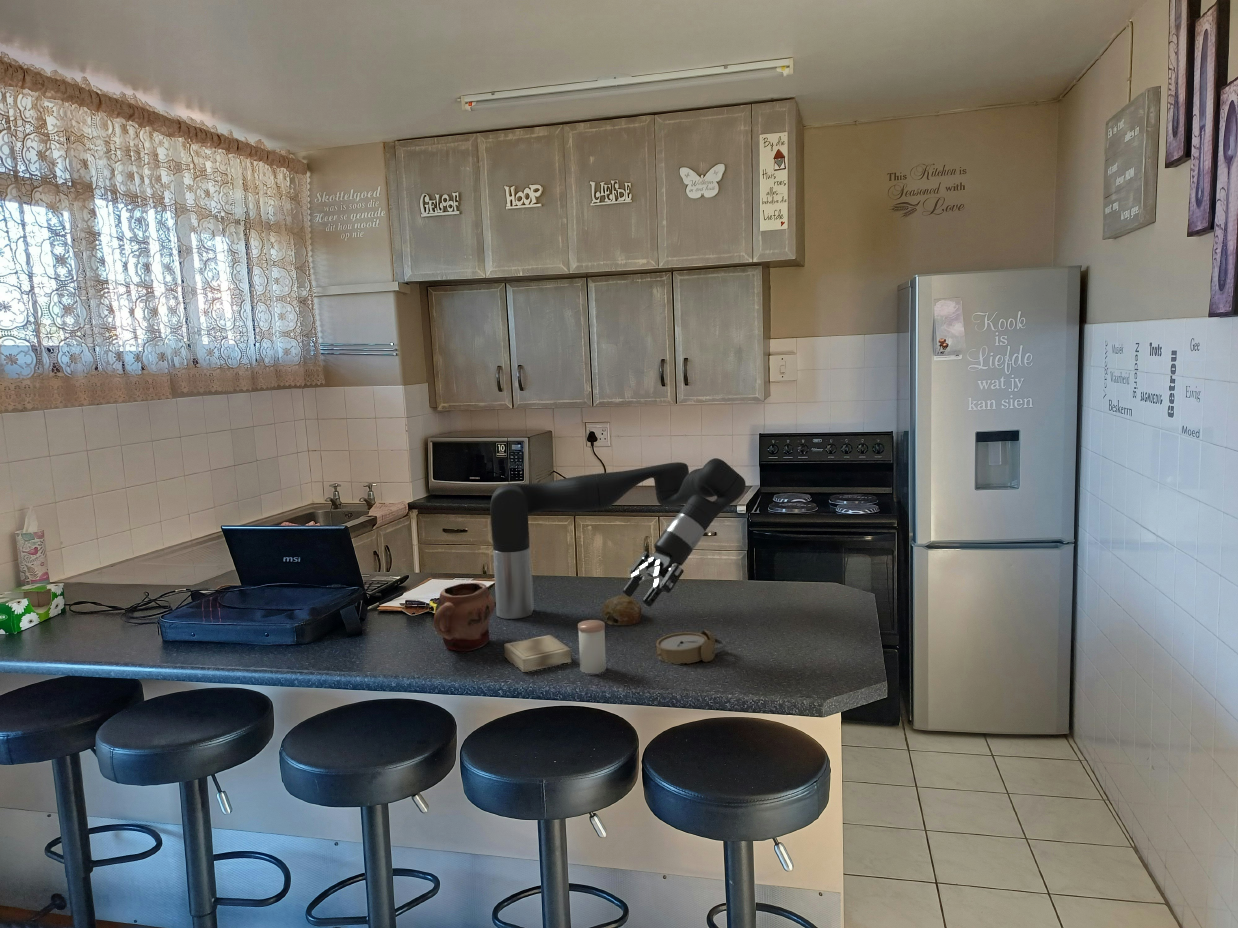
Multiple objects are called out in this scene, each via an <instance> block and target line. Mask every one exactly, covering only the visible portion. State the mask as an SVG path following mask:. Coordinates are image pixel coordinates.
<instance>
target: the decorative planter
mask: <svg viewBox="0 0 1238 928" xmlns="http://www.w3.org/2000/svg"><path fill="white" fill-rule="evenodd" d="M495 607H496V600H495V598H494V597H493V596H492V594H491V593H490V591H489V588H488V586H487V585H486V584H484V583H482V582H479V581H478V582H463V583H458V584H456V585H452V586H449V587H445V588H443V589H442V590H441V592H440V593H439V598H438V600H437V603H436V605H435V608H434V609H435V610H434V617H433V627H434V629H435V632H437V634H438V636H440V637H441V638H442V640H443V644H444V645H445V648H447V649H448V650H452V651H461V652H466V651H467V652H468V651H469V652H470V651H473V650H476V649H479V648H481V647H483V646H485V645H486V644H487V643H489V642H490V630H489V629H490V628H489V626H490V625H489V622H490V619H491V617H492V615H493V613H494V611H495Z"/></svg>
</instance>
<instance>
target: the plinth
mask: <svg viewBox="0 0 1238 928" xmlns="http://www.w3.org/2000/svg"><path fill="white" fill-rule="evenodd" d="M505 657H506V658H507V659H506V658H505ZM504 658H505V659H506V660H507V661H508V662H510V663H511V664H512V663H513V664H514V665H515V666H514V667H516V668H517V667H518V668H519V669H520V670H521V671H522V672H528V671H532V670H536V669H540V668H544V667H548V666H553V665H558V664H561V663H567V662H571V663H572V650H571V648H569V647H568V646H567V645H565V644H564V643H562V642H561V641H560V640H558V639H557V638H556V637H554V636H553V635H551V634H547V635H542V636H538V637H532V638H528V639H523V640H519V641H514V642H508V643H504ZM513 664H512V665H513ZM518 668H517V669H518ZM519 669H518V670H519ZM520 670H519V671H520ZM521 671H520V672H521ZM522 672H521V673H522ZM532 672H533V671H532ZM528 673H529V672H528Z"/></svg>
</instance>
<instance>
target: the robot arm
mask: <svg viewBox="0 0 1238 928" xmlns="http://www.w3.org/2000/svg"><path fill="white" fill-rule="evenodd" d="M649 479H653V481H654V488H655V489H654V491H655V496H656V501H657V503H658V504H659V505H660V506H662V507H677V506H682V505H684V506H683V507H682V508H681V509H680V511H679V512H678V514H677V515H676V516H675V517H674V518H672V520H670V522H669V524H668V525H667V526H666V528H665V529H664V530H663V532H662V533H661V535H660V536H659V538H658V539H657V540H656V541H655V543H654V544H653V547H654V549H655V551H654V553H652V554H650V553H648V552H647V551H643V553H641V555H640V556H639V557H638V559H637V560H636V562H635V563H634V564H633V565H632V567H631V568H630V569H629V571H628V573H629V574H630V575H631V576H630V577H631V579H629V581H628V582H627V584H626V585H625V586H624V588H623V589H622V593H624V594H623V595H626V596H628V597H632V596H633V594H635V592H636V591H637V589H638V588H639V586H640V584H641V583H642V582H644V581H645V580H651V579H653V580H654V581H653V585H652V587H650V589H649V590H648V592H647V593H646V594H645V596H644V597H643V599H642V602H643V604H644V605H646V607H649V608H651V607H652V605H653V604H655V602H656V601H657V599H658V598H659V596H660V595H661V594H664V593H667V594H669V593H671V591H672V590H673V589H674V587H675V586H676V584H677V583H678V581H679V580H680V579H681V576H682V575H683V574H684V573H685V572H684V569H683V568H682V567H681V566H683V565H684V563H686V561H687V560H688V557H689V556H690V555H691V554H692V553H693V551H694V549H695V548H696V547H697V545H698V544H699V542H700V541H701V540H702V538H703V536H704V534H705V533H706V531H707V530H708V529H709V527H710V525H711V524H712V523H713V521H714V520H715V519H716V518H717V517H718V516H719V515H720V514H721V513H722V512H723V511H724V510H725V509H727V508H728V507H729V506H730V505H732V504H733V503H734V502H736V501H737V500H738V499H739V498H741V496H742V495H743V494H744V492H745V490H746V480H745V479H744V477H743V476H742V475H741V474H740V473H738V472H737V471H736V470H735V469H734V468H733V467H731V466H730V465H729V464H728V463H727V462H726V461H724V460H723V459H720V458H717V457H715V458H711V459H710V460H708V461H707V462H706V463H705V464H704V465H703V467H700V468H696V469H692V470H691V471H690V470H689V465H688V464H687V463H685V462H679V461H678V462H677V461H675V462H668V463H662V464H657V465H650V466H645V467H639V468H634V469H629V470H622V471H621V470H620V471H611V472H610V471H609V472H601V473H600V472H599V473H592V474H591V473H590V474H583V475H577V476H573V477H565V478H562V479H561V478H560V479H556V480H553V481H547V482H538V483H537V482H536V483H535V482H533V483H506V484H502V485H501V486H499V487H497V488H496V489H495V490H494V492H493V493H492V495H491V500H490V503H489V506H490V507H489V512H490V526H491V527H490V529H491V530H490V531H491V541H492V551H493V553H492V554H493V569H494V588H495V590H494V591H495V607H496V610H495V611H496V616H497V617H499V618H502V619H505V620H506V619H507V620H509V619H511V620H513V619H522V618H525V617H529V616H530V615H532V614H533V610H534V609H535V606H534V602H535V601H534V583H533V581H534V580H533V573H532V572H531V571H532V569H531V552H530V551H531V550H530V530H529V515H530V514H533V513H538V512H544V511H557V512H574V513H575V512H576V513H577V512H578V513H581V512H589V511H590V512H592V511H598V510H605V509H608V508H610V507H611V506H612V505H614V504H615V503H616V502H618V501H619V500H621V498H623V497H624V496H625V495H626V494H627V493H628V492H630V491H631V490H632V489H634V488H635V487H636V486H638V485H639V484H641V483H643V482H645V481H647V480H649ZM713 497H716V499H715V500H710V499H708V498H713ZM669 582H670V583H669Z"/></svg>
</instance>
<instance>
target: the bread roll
mask: <svg viewBox="0 0 1238 928" xmlns="http://www.w3.org/2000/svg"><path fill="white" fill-rule="evenodd" d="M601 616H602V619H603V622H604V623H607V624H608V625H612V626H631V625H635V624H638V623H639V622H640V621H641V619H642V618H641V617H642V605H640V603H639V602H638V601H637V600H636V599H635V598H633V597H632V596H631V597H628V596H627V595H626V594H621V595H620V594H619V595H617V596H616V595H615V596H613V597H611V598H608V599H607V600H606V601H605V602H604V604H603V606H602V608H601Z"/></svg>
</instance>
